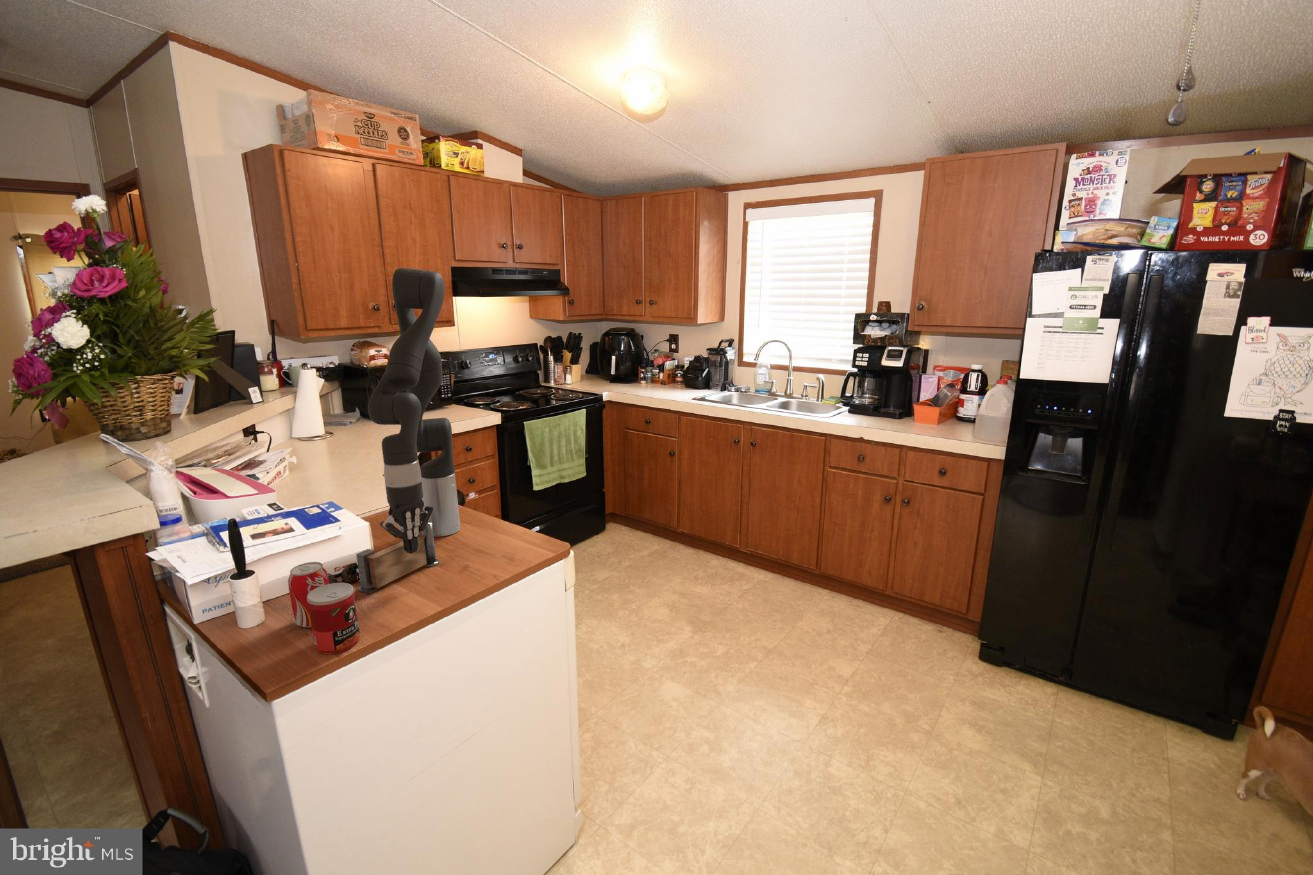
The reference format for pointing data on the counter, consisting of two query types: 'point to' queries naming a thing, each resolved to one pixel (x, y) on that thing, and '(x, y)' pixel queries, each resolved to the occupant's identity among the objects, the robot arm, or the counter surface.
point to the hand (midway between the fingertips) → (411, 551)
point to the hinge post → (429, 546)
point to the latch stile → (365, 572)
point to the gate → (395, 562)
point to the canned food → (333, 617)
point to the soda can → (305, 588)
